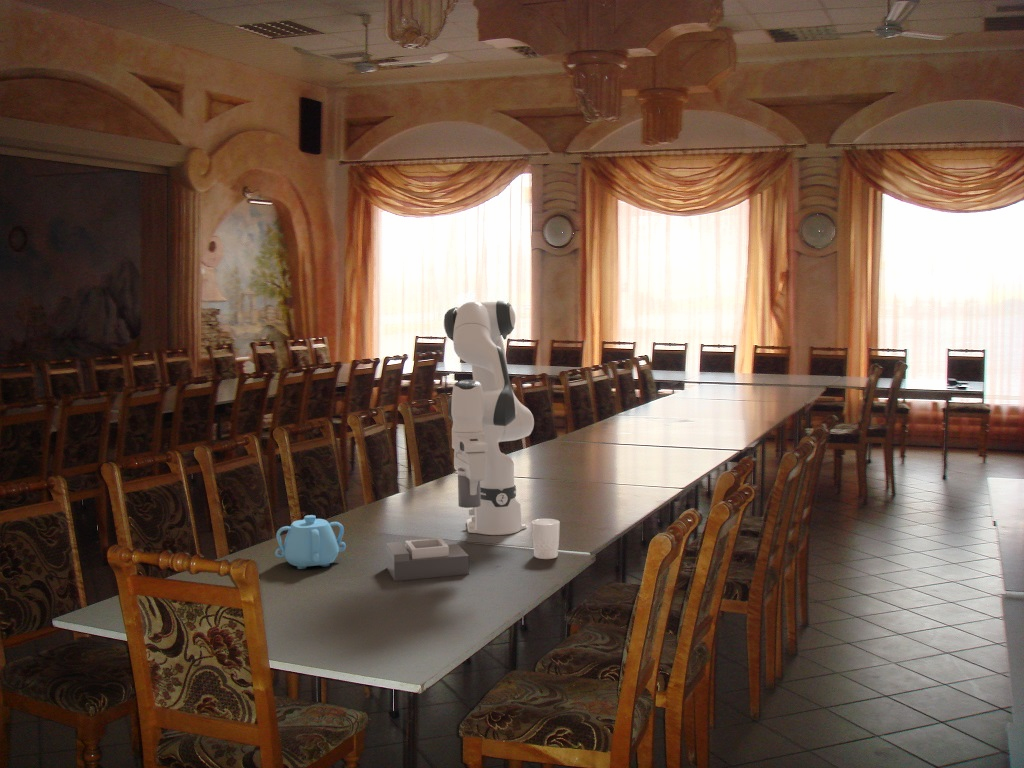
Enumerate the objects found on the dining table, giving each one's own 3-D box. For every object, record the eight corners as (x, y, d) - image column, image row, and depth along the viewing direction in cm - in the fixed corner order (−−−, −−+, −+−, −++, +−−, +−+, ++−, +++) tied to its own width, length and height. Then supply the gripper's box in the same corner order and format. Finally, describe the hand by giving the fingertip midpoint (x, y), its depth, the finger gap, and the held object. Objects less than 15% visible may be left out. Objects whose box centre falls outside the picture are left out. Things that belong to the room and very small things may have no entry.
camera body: (386, 567, 278) (386, 541, 278) (458, 561, 284) (457, 535, 283) (394, 580, 266) (394, 552, 265) (469, 574, 271) (468, 546, 271)
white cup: (558, 552, 292) (558, 518, 291) (561, 559, 285) (560, 524, 284) (531, 552, 292) (531, 518, 291) (532, 560, 284) (532, 525, 283)
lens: (455, 504, 276) (455, 467, 275) (477, 502, 278) (476, 466, 277) (461, 508, 270) (460, 471, 269) (483, 506, 272) (482, 469, 271)
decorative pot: (269, 567, 281) (267, 518, 280) (309, 553, 295) (307, 507, 294) (313, 575, 273) (311, 525, 272) (352, 560, 287) (350, 513, 285)
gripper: (447, 436, 282) (448, 486, 283) (466, 447, 262) (467, 500, 263) (469, 435, 283) (470, 484, 285) (489, 445, 264) (490, 498, 265)
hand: (469, 492), depth 274 cm, fingers closed on lens, 6 cm apart
